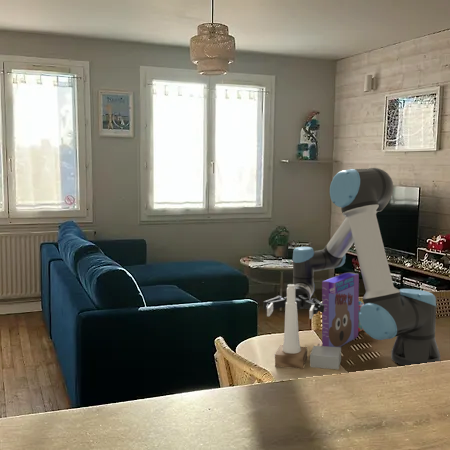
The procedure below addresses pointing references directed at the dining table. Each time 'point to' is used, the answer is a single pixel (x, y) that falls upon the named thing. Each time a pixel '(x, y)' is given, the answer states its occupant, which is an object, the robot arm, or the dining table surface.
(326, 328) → the cereal box
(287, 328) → the cosmetic bottle
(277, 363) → the walnut stand
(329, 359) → the grey stand
